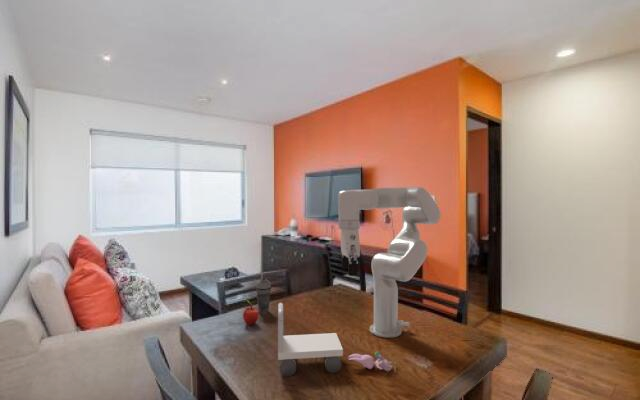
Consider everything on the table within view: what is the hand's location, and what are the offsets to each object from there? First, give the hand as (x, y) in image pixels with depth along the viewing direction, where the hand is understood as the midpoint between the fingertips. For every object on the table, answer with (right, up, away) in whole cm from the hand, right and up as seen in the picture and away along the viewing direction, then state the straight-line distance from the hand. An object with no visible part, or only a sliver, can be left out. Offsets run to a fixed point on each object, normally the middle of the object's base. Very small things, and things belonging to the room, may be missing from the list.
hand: (349, 271), depth 114 cm
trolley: (-14, -27, -12) cm, 33 cm away
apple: (-41, -27, +20) cm, 53 cm away
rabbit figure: (+6, -28, -14) cm, 32 cm away
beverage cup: (-37, -27, +35) cm, 58 cm away
